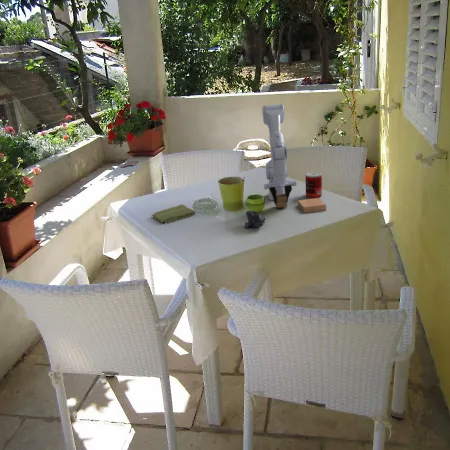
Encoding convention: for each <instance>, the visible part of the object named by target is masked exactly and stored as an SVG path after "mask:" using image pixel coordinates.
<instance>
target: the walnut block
mask: <svg viewBox="0 0 450 450" xmlns="http://www.w3.org/2000/svg"><path fill="white" fill-rule="evenodd" d="M276 200H277V204H275V203H274V206H276V207H275V208H277V209H279V208H287V207H288V202H287V196H286V195H285V194H276Z"/></svg>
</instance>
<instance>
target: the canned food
mask: <svg viewBox="0 0 450 450" xmlns="http://www.w3.org/2000/svg"><path fill="white" fill-rule="evenodd" d="M304 176H305V196H306V197H307V198H308V199H314V198H321V196H322V195H323V194H322V193H323V188H322V187H323V180H322V179H323V176H322V173H321V172H319V171H309V172H306V173H305V175H304Z"/></svg>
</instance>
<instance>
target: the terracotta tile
mask: <svg viewBox="0 0 450 450" xmlns="http://www.w3.org/2000/svg"><path fill="white" fill-rule="evenodd" d="M297 206H298V207H299V208H300V209H301V211H302V212H303V213H304V214H305V213H311V212H312V213H314V212H321V211H326V210H327V204H326V203H325V202H324V201H323V200H322V199H321V197H319V198H308V199H300V200H297Z"/></svg>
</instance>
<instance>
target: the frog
mask: <svg viewBox="0 0 450 450" xmlns="http://www.w3.org/2000/svg"><path fill="white" fill-rule="evenodd" d="M245 215H246V219H247V221H245V223H244V228H246V229H248V228H250V227H252V228H259V227H262V226H263V225H264V224H265V223H266V217H265V216H262V215H261V214H259V212H258V211H255V210H254V211H251V210H247V211H246V212H245Z"/></svg>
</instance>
